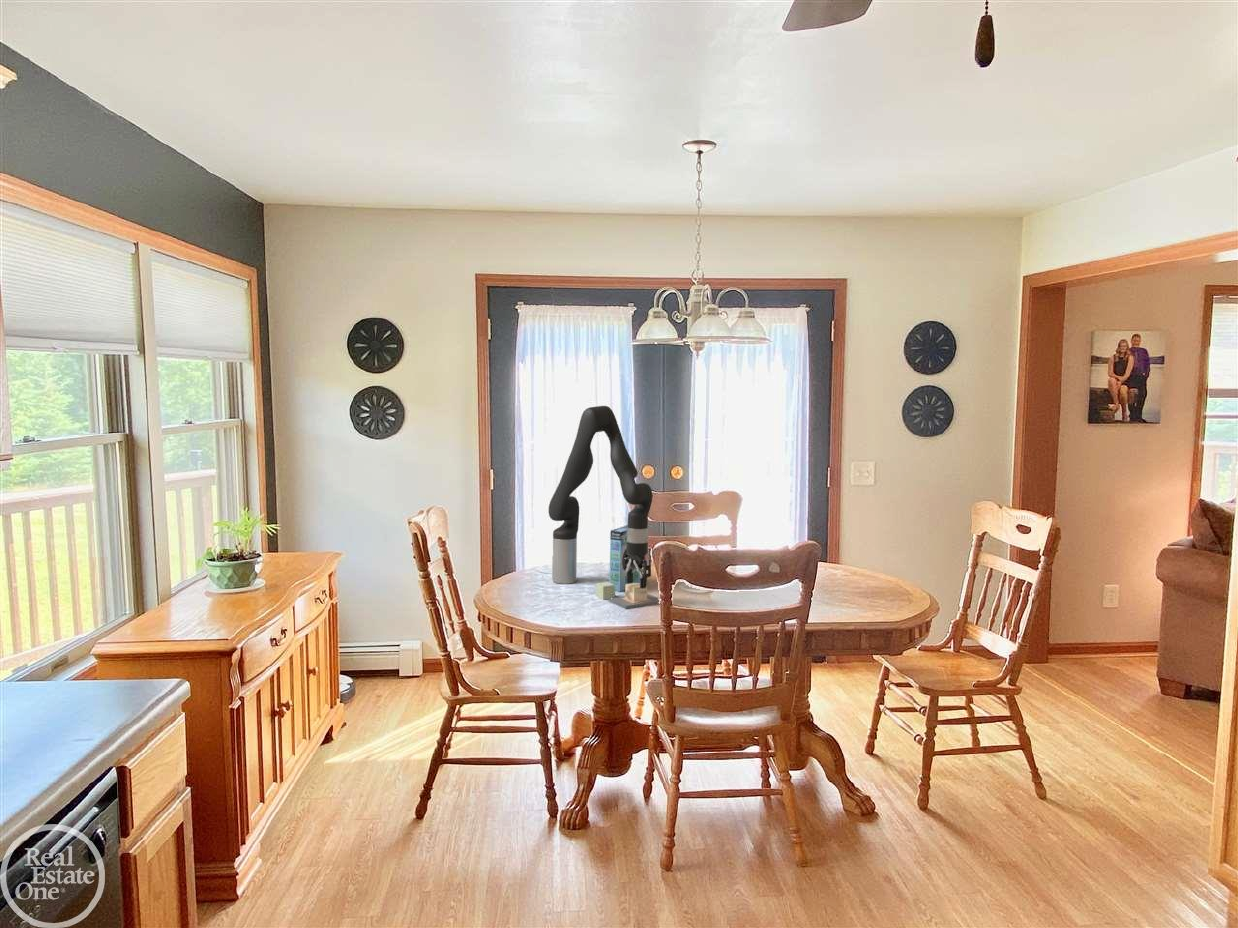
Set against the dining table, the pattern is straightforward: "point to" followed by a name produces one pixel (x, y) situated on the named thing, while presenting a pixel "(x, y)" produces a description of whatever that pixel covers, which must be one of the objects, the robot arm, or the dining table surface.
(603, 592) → the sage top cube
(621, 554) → the gum box
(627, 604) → the slate board
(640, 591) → the maple base block
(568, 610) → the dining table surface
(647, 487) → the robot arm
